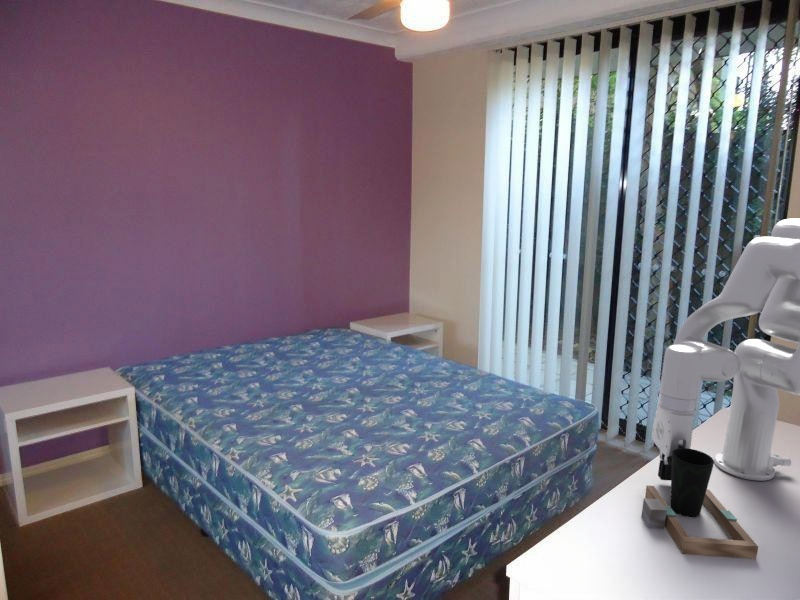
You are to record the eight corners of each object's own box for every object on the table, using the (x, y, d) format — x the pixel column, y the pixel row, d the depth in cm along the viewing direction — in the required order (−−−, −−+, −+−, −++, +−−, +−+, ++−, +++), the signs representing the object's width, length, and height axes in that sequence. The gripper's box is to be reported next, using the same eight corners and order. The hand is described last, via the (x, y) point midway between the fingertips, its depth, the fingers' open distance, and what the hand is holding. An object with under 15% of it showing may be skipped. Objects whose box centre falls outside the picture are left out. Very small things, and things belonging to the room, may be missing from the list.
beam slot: (708, 500, 123) (710, 483, 122) (756, 558, 104) (760, 539, 103) (628, 494, 124) (630, 477, 123) (662, 552, 105) (665, 532, 104)
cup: (710, 523, 115) (719, 468, 112) (669, 517, 116) (677, 463, 114) (699, 502, 122) (707, 450, 119) (660, 497, 123) (668, 445, 121)
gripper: (647, 388, 133) (638, 461, 136) (673, 414, 118) (661, 495, 122) (681, 390, 132) (670, 463, 136) (710, 416, 117) (697, 497, 121)
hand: (666, 478), depth 129 cm, fingers closed
